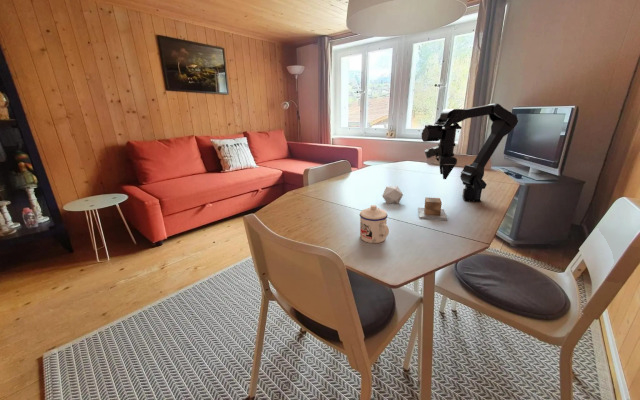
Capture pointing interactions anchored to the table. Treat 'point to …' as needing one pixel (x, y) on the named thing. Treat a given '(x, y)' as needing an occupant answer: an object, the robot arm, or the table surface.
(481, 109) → the robot arm
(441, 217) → the coaster
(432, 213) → the walnut cube
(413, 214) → the table surface
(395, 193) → the die
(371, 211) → the teacup with lid
